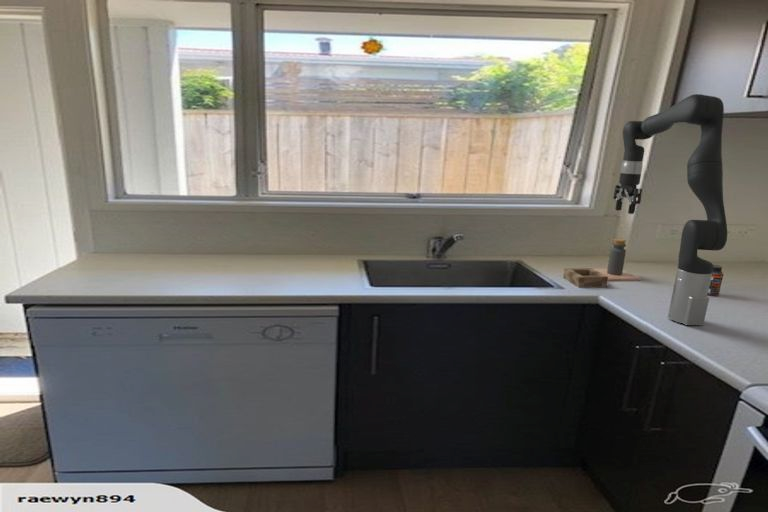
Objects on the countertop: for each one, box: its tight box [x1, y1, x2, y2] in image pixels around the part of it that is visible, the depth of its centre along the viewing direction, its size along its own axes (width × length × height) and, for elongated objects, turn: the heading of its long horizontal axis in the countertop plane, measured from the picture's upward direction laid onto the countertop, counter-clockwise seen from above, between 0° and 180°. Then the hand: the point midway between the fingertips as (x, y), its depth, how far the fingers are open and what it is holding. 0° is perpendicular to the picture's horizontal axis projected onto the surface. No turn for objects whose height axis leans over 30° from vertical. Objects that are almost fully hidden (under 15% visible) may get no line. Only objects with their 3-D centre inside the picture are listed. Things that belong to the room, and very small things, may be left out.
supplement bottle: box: [707, 264, 724, 297], centre depth 174 cm, size 6×6×11 cm
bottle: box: [606, 238, 627, 275], centre depth 193 cm, size 6×6×15 cm
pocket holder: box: [563, 267, 609, 288], centre depth 186 cm, size 12×12×4 cm
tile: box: [593, 268, 641, 282], centre depth 196 cm, size 14×14×1 cm
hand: (624, 211), depth 189 cm, fingers open, 8 cm apart
